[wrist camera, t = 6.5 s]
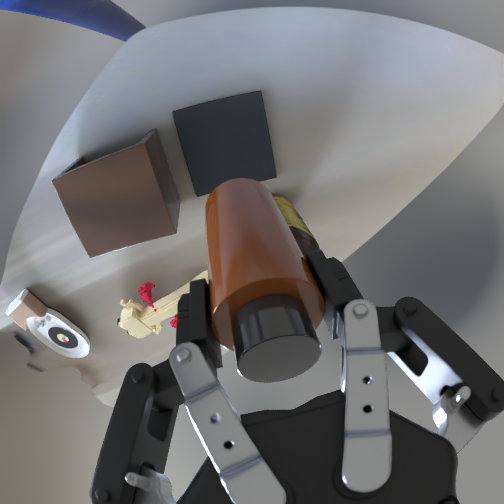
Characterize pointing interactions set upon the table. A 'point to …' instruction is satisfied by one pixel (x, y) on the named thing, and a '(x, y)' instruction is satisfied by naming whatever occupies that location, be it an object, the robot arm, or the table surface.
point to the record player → (48, 326)
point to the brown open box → (120, 197)
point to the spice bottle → (260, 284)
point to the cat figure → (152, 310)
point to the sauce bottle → (296, 226)
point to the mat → (226, 141)
